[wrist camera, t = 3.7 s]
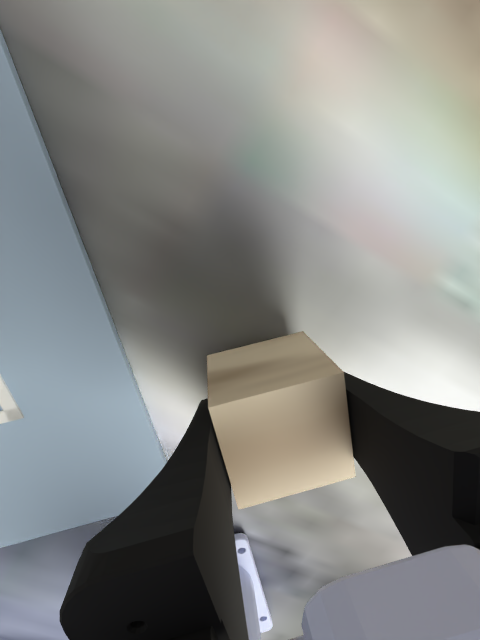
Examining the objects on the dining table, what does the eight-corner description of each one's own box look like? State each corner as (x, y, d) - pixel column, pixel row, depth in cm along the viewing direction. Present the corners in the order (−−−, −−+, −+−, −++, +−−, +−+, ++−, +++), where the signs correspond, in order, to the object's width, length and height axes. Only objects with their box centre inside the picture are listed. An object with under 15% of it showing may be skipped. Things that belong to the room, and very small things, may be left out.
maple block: (315, 412, 14) (355, 476, 11) (229, 435, 14) (238, 509, 10) (303, 331, 13) (343, 372, 9) (207, 355, 13) (208, 407, 9)
